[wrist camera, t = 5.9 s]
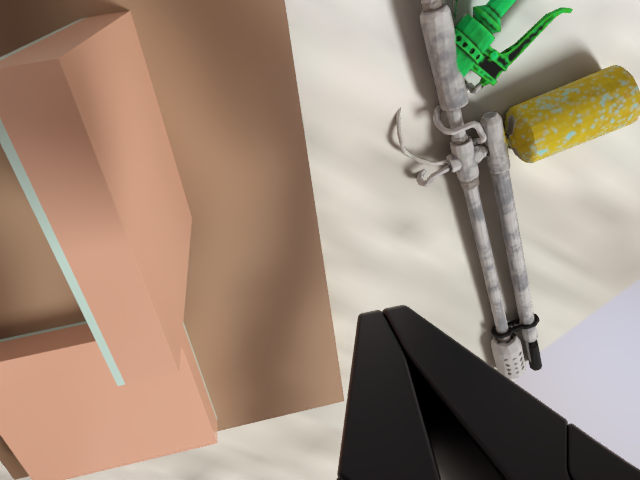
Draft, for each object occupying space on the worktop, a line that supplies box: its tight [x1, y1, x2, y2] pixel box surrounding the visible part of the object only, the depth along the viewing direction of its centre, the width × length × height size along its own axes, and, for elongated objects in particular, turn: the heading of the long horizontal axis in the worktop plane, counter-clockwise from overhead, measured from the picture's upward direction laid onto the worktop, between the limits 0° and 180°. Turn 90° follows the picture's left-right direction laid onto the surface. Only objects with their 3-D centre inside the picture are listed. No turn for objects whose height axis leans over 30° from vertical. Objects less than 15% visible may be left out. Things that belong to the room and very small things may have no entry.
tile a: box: [0, 321, 217, 480], centre depth 24 cm, size 2×8×9 cm
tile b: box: [0, 11, 192, 386], centre depth 15 cm, size 2×8×9 cm, turn 7°
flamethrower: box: [396, 0, 640, 379], centre depth 23 cm, size 29×3×10 cm
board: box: [0, 0, 344, 480], centre depth 22 cm, size 18×22×1 cm
